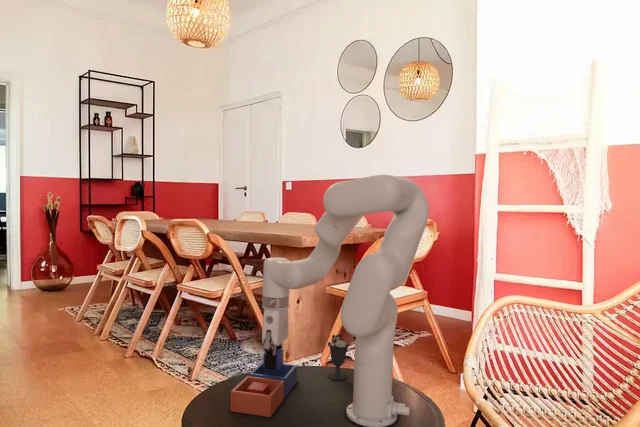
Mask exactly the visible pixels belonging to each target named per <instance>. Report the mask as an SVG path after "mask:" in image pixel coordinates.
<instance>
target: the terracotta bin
mask: <svg viewBox="0 0 640 427" xmlns="http://www.w3.org/2000/svg"><path fill="white" fill-rule="evenodd" d="M253 382H258V383H265V384H269V395H264V394H257V393H249V392H247V388H248V387H249V386H250V385H251V384H252V383H253ZM284 400H285V397H284V381H283V380H275V379H267V378H260V377H252V376H249V375H247V376H245V377H244V378H243V379H242V380H241V381H240V382H238V384H237V385H235V387H233V388H232V389H231V390H230V412H231V413H241V414H246V415H253V416H259V417H265V418H271V417H272V416H273V414H274V413H275V412H276V411H277V409H278V408H279V406H280V405H281V404H282V402H283V401H284Z"/></svg>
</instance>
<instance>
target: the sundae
mask: <svg viewBox="0 0 640 427" xmlns="http://www.w3.org/2000/svg"><path fill="white" fill-rule="evenodd" d="M344 332H346V330H345V328H343V329H342V331H341V332H340V333H339V334H336V335H335V334H332V335H331V341H328V342H327V346H328V348H329V351H330V360H331V363H332V364H333V365H334V366H335V371H334V373H332V374H330V375H329V379H331V380H334V381H343V380H345V379H346V378H347V377H346V375H344V374H342V373H341V370H340V369H341V366H342V365H343V364H345V361H346V358H347V351H348V348H349V347H350V346H351V343H348V342H347V341H346V338H345V336H344V334H343V333H344Z"/></svg>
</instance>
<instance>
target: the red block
mask: <svg viewBox="0 0 640 427" xmlns="http://www.w3.org/2000/svg"><path fill="white" fill-rule="evenodd" d="M247 392H249V393H257V394H264V395H269V384H265V383H258V382H253V383H252V384H251V385H250V386H249V387H248V388H247Z"/></svg>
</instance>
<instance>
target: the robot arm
mask: <svg viewBox="0 0 640 427" xmlns="http://www.w3.org/2000/svg"><path fill="white" fill-rule="evenodd" d="M322 204H323V208H324V210H325V211H324V213H323V214H322V215H321V217H320V218H319V220H318V221H317V222H316V224H315V226H314V232H315V234H316V236H317V237H318V238H319V239H318V241H317V244H316V246H315V247H314V249H313V250H312V252H311V253H310V254H309V255H308V256H307V258H303V259H298V260H289V259H288V258H286V257H268V258H267V257H266V259H265V260H264V261H263V271H262V272H263V273H262V295H261V296H262V298H261V308H262V309H263V315H262V316H263V317H262V326H261V328H262V329H261V342H262V344H263V350H264V352H265V369H269V370H275V369H276V360H277V355H275V354H276V349H282V350H283V349H284V348H283V347H284V342H285V341H286V340H287V339H288V337H289V308H290V290H299V289H303V288H306V287H309V286H313V285H316V284H318V283H319V282H321V281H322V280H323V279H324V278H325V277H326V276H327V274H328V273H329V271H330V270H331V269H332V268H333V266H334V265H335V263H336V262H337V260H338V257H339V255H340V252H341V250H342V249H341V248H342V245H343V243H344V242H345V241H346V240H347V238H348V236H349V235H350V234H351V233H352V231H353V230H354V229H355V228H356V226H357V225H358V223H359V222H360V221H361V220H362V218H363V217H364V215H368V214H369V215H370V214H377V213H387V212H389V213H390V212H392V213H393V215H392V218H391V221H390V222H389V224H388V225H387V228H386V229H385V231H384V235H383V238H382V240H381V243H380V245H379V248H378V249H377V251H375V252H372V253H369V254H367V255H365V256H364V257H362V259H361V260H359V262H358V263H357V265H356V267H355V269H354V271H353V273H352V276H351V279H350V282H349V285H348V288H347V290H346V293H345V296H344V299H343V301H342V305H341V308H340V322H341V324H342V327H343V329H344V330H345V332H347V334H349V335H351V336H352V337H355V342H354V359H353V360H354V361H353V362H354V363H353V386H352V387H353V389H352V390H353V392H352V403H350V404H349V405H348V406H347V407H346V412H345V414H346V417H347V418H348V420H350V421H351V422H353V423H355V424H357V425H360V426H363V427H388V426H391V425H393V424H394V423H396V421H397V420H398V415H401V416H407V417H409V416H410V407H409V406H406V403H402V402H396V401H394V395H392V394H393V392H392V390H393V367H394V350H395V349H394V347H395V335H396V328H397V322H398V317H399V316H398V314H399V308H398V304H397V301H396V298H395V297H394V296H393V295H392V294H391V291H393V290H396V289H398V288H399V287H401V286H403V285H404V283H405V282H406V281H407V279H408V277H409V273H410V270H411V267H412V265H413V262H414V260H415V257H416V254H417V252H418V248H419V245H420V242H421V239H422V237H423V235H424V232H425V230H426V227H427V223H428V219H429V203H428V200H427V197H426V195H425V193H424V191H423V190H422V189H421V187H420V186H419V185H418V184H417V183H416V182H414V181H413V180H412V179H409V178H407V177H404V176H400V175H391V174H374V175H369V176H364V177H360V178H356V179H355V178H354V179H349V180H344V181H343V180H342V181H338V182H335V183H333V184H331V185H330V186H329V187H328V188H327V189H326V191H325V192H324V194H323V198H322ZM272 348H273V350H272Z"/></svg>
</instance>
